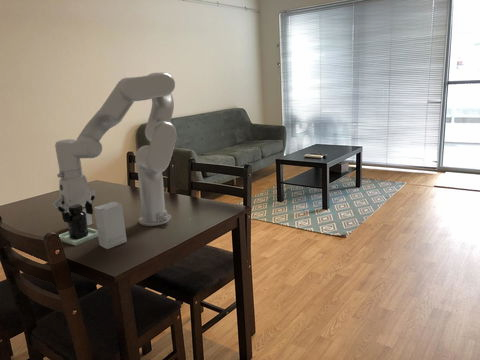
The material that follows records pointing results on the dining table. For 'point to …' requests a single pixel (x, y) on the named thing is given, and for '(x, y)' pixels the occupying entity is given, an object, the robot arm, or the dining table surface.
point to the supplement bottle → (77, 223)
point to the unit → (88, 216)
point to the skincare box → (110, 224)
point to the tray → (65, 238)
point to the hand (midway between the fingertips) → (78, 217)
